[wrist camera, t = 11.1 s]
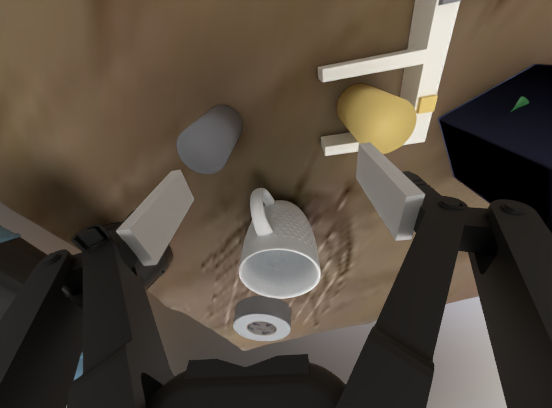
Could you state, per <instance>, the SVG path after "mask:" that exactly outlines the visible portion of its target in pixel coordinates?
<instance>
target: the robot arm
mask: <svg viewBox="0 0 552 408" xmlns="http://www.w3.org/2000/svg"><path fill="white" fill-rule="evenodd" d="M356 179H357V181H358V182H359V184H360V185H361V187H362V189H363V190H364V192H365V193H366V195H367V197H368V198H369V200H370V201H371V203H372V204H373V206H374V208H375V209H376V211H377V212H378V214H379V215H380V217H381V219H382V220H383V222H384V223H385V225H386V226H387V228H388V230H389V231H390V233H391V234H392V236H393V237H394V239H395V241H399V240H409V239H412V235H413V232H414V231H415V232H416V235H415V237H414V239H413V241H412V244H411V246H410V248H409V250H408V253H407V255H406V257H405V259H404V262H403V264H402V266H401V268H400V271H399V273H398V275H397V277H396V279H395V282H394V284H393V286H392V288H391V291H390V293H389V295H388V297H387V300H386V302H385V304H384V306H383V309H382V311H381V313H380V315H379V318H378V320H377V322H376V324H375V326H374V327H373V328H372V329H371V331H370V334H369V335H368V338H367V340H366V342H365V344H364V346H363V349H362V351H361V353H360V355H359V358H358V360H357V362H356V364H355V366H354V368H353V371H352V373H351V375H350V377H349V380H348V382H347V384H346V385H345V384H344V383H343V382H342V381H341V380H340V379H339V378H338V377H337V376H336V375H334V374H333V373H332V372H330V371H328V370H327V369H325V368H323V367H321V366H319V365H316V364H313V363H310V362H309V359H308V354H302V355H284V356H283V355H282V356H276V357H273V358H270V359H267V360H265V361H262V362H259V363H257V364H254V365H251V366H248V367H242V366H239V365H235V364H232V363H229V362H226V361H222V360H218V359H207V360H189V363H188V366H187V370H186V371H184V372H182V373H180V374H178V375H177V376H174V375H173V373H172V371H171V369H170V367H169V364H168V360H167V357H166V354H165V351H164V348H163V345H162V342H161V339H160V335H159V332H158V329H157V326H156V323H155V320H154V316H153V314H152V310H151V307H150V304H149V301H148V297H147V294H146V290H147V289H148V288H149V287H150V286H151V285H152V284H153V283H154V282H155V281H156V280H157V279H158V278H159V277H160V276H162V275H163V274H164V273H165V272H166V270H167V269H168V267H169V265H170V263H171V261H172V252H171V250H170V248H169V246H168V244H169V243H170V241H171V239H172V237H173V236H174V234H175V232H176V230H177V229H178V227H179V225H180V223H181V222H182V220H183V218H184V217H185V215H186V213H187V211H188V210H189V208H190V206H191V204H192V203H193V201H194V198H193V196H192V193H191V191H190V189H189V187H188V185H187V183H186V180H185V178H184V176H183V174H182V172H181V170H175V171H171V172H170V173H169V174H168V175H167V176H166V177H165V178H164V179H163V180H162V181H161V183H160V184H159V185H158V186H157V187H156V188H155V189H154V190H153V191H152V192H151V193H150V194H149V196H148V197H147V198H146V199H145V200H144V201H143V202H142V203H141V204H140V205H139V206H138V207H137V209H135V210H134V211H132V212H131V213H130V214H129V216H128V217H127V218H126V219H125V220H124V221H123V223H112V224H108V225H106V226H104V227H102V225H100V224H96V225H91V226H89V227H86V228H84V229H82V230H81V231H79V232H78V233H76V234H75V235H74V236H73V237H72V239H71V241H72V242H73V243H74V244H75V245H76V246H77V247H78V248H79V249H80V250H81V251H82V253H79V254H76V255H71V253H69V252H68V251H67V250H59V251H56V252H54V253H51V254H49V255H47V254H45V253H44V252H42V251H40V250H39V249H38V248H36V247H34V246H33V245H31V244H30V243H28V242H27V241H25V240H24V239H22V238H21V235H20V234H15V233H12V232H11V231H9V230H7V229H6V228H4V227H2V226H0V408H66V406H67V408H426V405H427V401H428V396H429V392H430V388H431V383H432V378H433V373H434V363H433V354H434V350H435V346H436V342H437V337H438V333H439V329H440V325H441V320H442V316H443V312H444V308H445V304H446V300H447V296H448V291H449V287H450V283H451V279H452V275H453V271H454V266H455V262H456V258H457V254H458V251H465V252H468V254H469V258H470V262H471V266H472V270H473V274H474V278H475V282H476V286H477V290H478V294H479V298H480V302H481V305H482V309H483V313H484V317H485V321H486V325H487V329H488V333H489V337H490V341H491V345H492V348H493V353H494V357H495V361H496V365H497V369H498V373H499V377H500V381H501V385H502V389H503V392H504V396H505V400H506V405H507V408H552V233H551V232H550V230H549V229H548V227H547V226H546V224H545V223H544V222H543V220H542V219H541V217H540V216H539V214H538V213H537V211H536V210H534V209H533V208H532V207H530V206H528V205H526V204H525V203H522V202H519V201H515V200H507V199H499V200H494V201H493V202H491V204H490V205H489V207H488V209H485V208H471V207H468V206H467V205H466V204H465V203H464V202H463V201H461V200H459V199H456V198H453V197H447V196H441V195H440V194H439V193H437V192H436V191H435V190H434V189H433V188H432V187H430V186H429V185H427V183H426V182H425V181H422V179H421V178H420V177H419V176H418V175H416V174H414V173H411V172H409V171H405V172H401V171H400V170H399V169H398V168H397V167H396V166H395V165H394V164H393V163H392V162H390V161H389V160H388V159H387V158H386V157H385V156H384V155H383V154H382V153H381V152H380V151H379V150H378V149H377V148H376V147H375V146H374V145H372V144H371V143H370V142H368V143H361V144H359V146H358V160H357V173H356Z"/></svg>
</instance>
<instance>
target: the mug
mask: <svg viewBox="0 0 552 408" xmlns="http://www.w3.org/2000/svg"><path fill="white" fill-rule="evenodd" d="M263 202H264V204H265V206H263ZM250 210H251V216H252V221H251V224H250V225H249V228H248V231H247V234H246V236H245V241H244V244H243V248H242V254H241V260H240V265H239V276H240V279H241V281H242V282H243V284H244V285H245V286H246V287H248V288H249V289H250V290H252V291H253V292H255V293H257V294H260V295H263V296H266V297H271V298H291V297H296V296H299V295H302V294H305V293H307V292H309V291H310V290H312V289H313V288H314V287H315V286H316V285H317V284H318V282H319V280H320V275H321V271H320V264H319V258H318V252H317V247H316V246H317V245H316V243H315V237H314V233H313V231H312V228H311V226H310V223H309V221H308V220H307V217H306V216H305V214H304V213H303V212H302V210H301V209H299V208H298V207H297V206H296V205H294V204H293V203H291V202H288V201H284V200H276V201H275V200H274V199H273V197H272V196H271V194H270V193H269V192H268V191H267V190H266V189H265V188H257V189H255V190H254V191H253V192H252V193H251V197H250Z"/></svg>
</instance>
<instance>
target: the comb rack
mask: <svg viewBox="0 0 552 408" xmlns="http://www.w3.org/2000/svg"><path fill="white" fill-rule="evenodd" d="M460 1H461V0H415V4H414V10H413V17H412V23H411V29H410V35H409V42H408V48H407V50H402V51H397V52H392V53H387V54H382V55H377V56H371V57H366V58H361V59H356V60H351V61H346V62H341V63H336V64H330V65H325V66H320V67H318V79H319V80H321V81H322V82H328V81H334V80H339V79H344V78H350V77H355V76H361V75H366V74H371V73H377V72H382V71H388V70H393V69H398V68H404V73H403V79H402V85H401V92H400V98H402V99H405V100H407V101H409V102H410V103H411V104H412V105H413V107H414V108H415V111H416V116H417V120H416V125H415V128H414V131H413V133H412V135H411V136H410V137H409V139H408V140H407V141H406V142H405V143H404V144H403V145H407V144H414V143H421V142H425V139H426V135H427V131H428V127H429V123H430V119H431V115H432V112H434V109H435V105H436V101H437V98H438V95H437V91H438V87H439V83H440V79H441V75H442V71H443V67H444V63H445V59H446V55H447V51H448V47H449V44H450V40H451V36H452V32H453V28H454V24H455V20H456V16H457V12H458V8H459V4H460ZM359 144H360V143H359V142H358V141H357V140H356V138H355V137H354V136H353V135H352V134H351V132H348V133H342V134H335V135H329V136H322V137H321V146H322V149H323V151H324V154H325V156H329V155H336V154H343V153H350V152H357V151H358V146H359Z"/></svg>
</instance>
